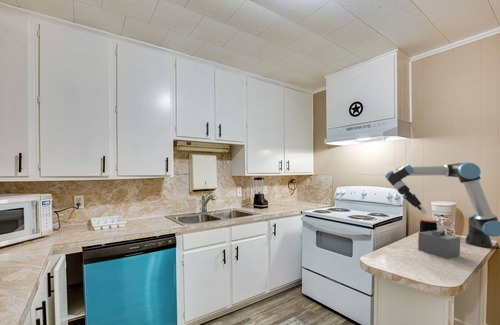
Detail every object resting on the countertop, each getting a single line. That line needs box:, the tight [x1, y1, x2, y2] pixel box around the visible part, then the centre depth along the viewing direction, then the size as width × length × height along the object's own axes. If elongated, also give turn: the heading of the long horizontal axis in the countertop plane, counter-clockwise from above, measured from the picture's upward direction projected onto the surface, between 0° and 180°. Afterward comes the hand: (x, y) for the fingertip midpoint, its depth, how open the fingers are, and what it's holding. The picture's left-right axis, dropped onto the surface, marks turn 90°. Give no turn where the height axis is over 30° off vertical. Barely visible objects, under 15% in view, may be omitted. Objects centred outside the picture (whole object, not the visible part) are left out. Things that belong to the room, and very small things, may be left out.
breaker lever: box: [436, 220, 453, 234], centre depth 162 cm, size 6×2×11 cm
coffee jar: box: [419, 217, 438, 232], centre depth 185 cm, size 11×11×18 cm
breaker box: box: [417, 230, 461, 260], centre depth 164 cm, size 14×18×15 cm
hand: (425, 213), depth 174 cm, fingers closed
